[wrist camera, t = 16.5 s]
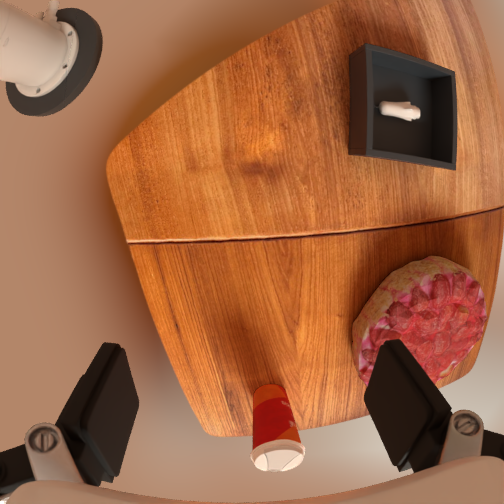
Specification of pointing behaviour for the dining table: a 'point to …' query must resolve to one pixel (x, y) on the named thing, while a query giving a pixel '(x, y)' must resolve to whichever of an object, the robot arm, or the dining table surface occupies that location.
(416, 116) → the small white plastic part
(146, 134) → the dining table surface
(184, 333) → the dining table surface
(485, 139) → the dining table surface
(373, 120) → the bin
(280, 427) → the paper cup
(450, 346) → the cake
